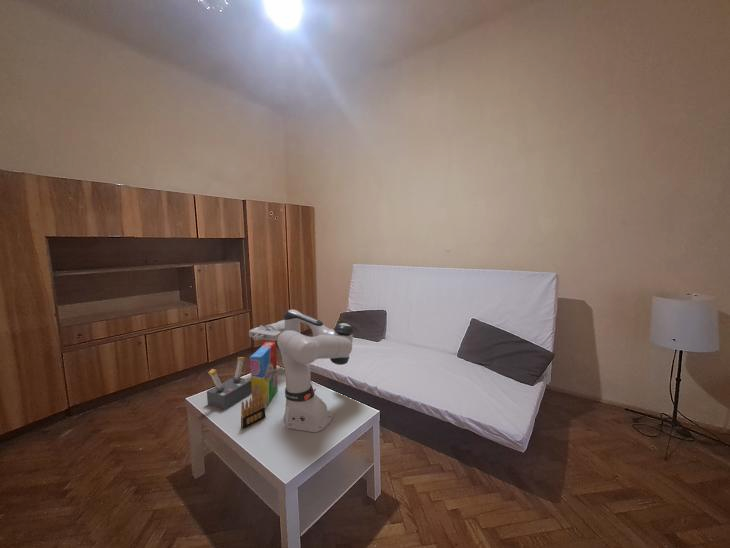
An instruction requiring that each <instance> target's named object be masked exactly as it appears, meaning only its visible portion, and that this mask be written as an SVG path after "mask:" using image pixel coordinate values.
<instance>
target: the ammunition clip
mask: <svg viewBox="0 0 730 548" xmlns="http://www.w3.org/2000/svg"><path fill="white" fill-rule="evenodd" d="M240 414H241V416H240V427H241V429H242V430H245V429H247V428H248V427H251V426H253V425H255V424H257V423H259V422H260V421H263V420H264V419H266V418H267V417H266V409H265V407H264V401H263V395H262V393H261V396H260V400H259V395H257V404H256V399H255V397H253V406H252V397H250V398H249V401H248V399H246V400H245V403H244V401H242V402H241V411H240Z"/></svg>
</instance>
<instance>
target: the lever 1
mask: <svg viewBox="0 0 730 548" xmlns="http://www.w3.org/2000/svg"><path fill="white" fill-rule="evenodd" d="M207 373H208V375H209V376H210V377H211V378H212V381H213V382H214V385H215V387H216V390H220V391H223V390H224V389H225V387H224V386H223V385H222V383H223V382H221V380H220V377H219V376H218V371H217V369H214V368H211V369H210V370H209V371H208V372H207Z"/></svg>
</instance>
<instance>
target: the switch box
mask: <svg viewBox="0 0 730 548" xmlns="http://www.w3.org/2000/svg"><path fill="white" fill-rule="evenodd" d="M221 383H222V385H223V386H224V387H225V389H224V390H223V391H220V390H216V386H213V387H212V388H210V389H208V390H207V391H206V398H207V399H206V401H207V405H208V404H209V405H208V406H211V405H212V407H215V408H217V409H221V410H224V411H226V410H227V409H229V408H231V407H232V406H234V405H236V404H237V403H239V402H241V401H242V400H243V399H245V398H246V397H249V395H252V387H251V379H247V378H243V377H241V380H240V382H237V381H233V377H231V378H229V379H227V380H225V381H224V382H221Z"/></svg>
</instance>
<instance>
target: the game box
mask: <svg viewBox="0 0 730 548" xmlns="http://www.w3.org/2000/svg"><path fill="white" fill-rule="evenodd" d="M276 344H277V341H265V342H264V343H263V344H262V345H261V346H260V347H259V348H258V349H257V350H256V351H255V352H254V353H253V354H252V355H250V356H249V363H250V364H249V365H250V380H251V387H252V393H251V400H252V406H253V397H255V399H256V404H257V395H259V400H260V396H261V393H262V395H263V401H264V407H265V410H266V409H267V408H268V406H269V404H270V402H271V401H272V400H273V398H274V396H275V395H276V393H277V392H278V389H279V388H278V368H277V345H276Z"/></svg>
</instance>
